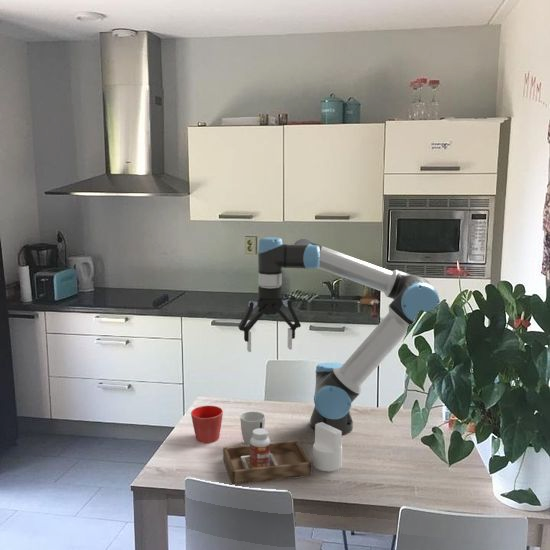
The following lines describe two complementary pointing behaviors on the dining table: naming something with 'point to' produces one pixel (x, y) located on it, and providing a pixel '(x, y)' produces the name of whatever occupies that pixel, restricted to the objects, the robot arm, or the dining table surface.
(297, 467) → the box
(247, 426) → the cup
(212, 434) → the flower pot
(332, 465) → the cylinder with rectangular tab
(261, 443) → the pill bottle
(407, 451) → the dining table surface
